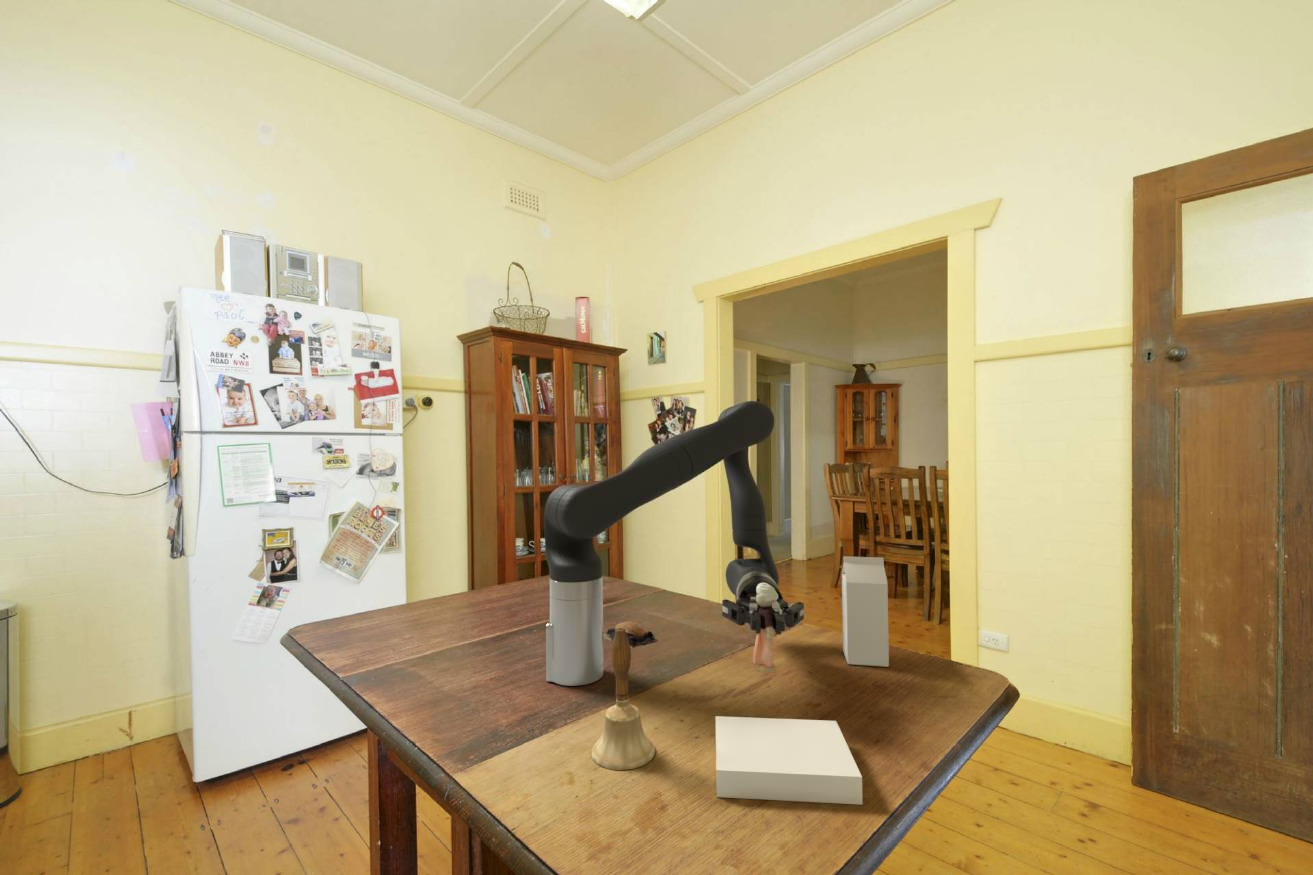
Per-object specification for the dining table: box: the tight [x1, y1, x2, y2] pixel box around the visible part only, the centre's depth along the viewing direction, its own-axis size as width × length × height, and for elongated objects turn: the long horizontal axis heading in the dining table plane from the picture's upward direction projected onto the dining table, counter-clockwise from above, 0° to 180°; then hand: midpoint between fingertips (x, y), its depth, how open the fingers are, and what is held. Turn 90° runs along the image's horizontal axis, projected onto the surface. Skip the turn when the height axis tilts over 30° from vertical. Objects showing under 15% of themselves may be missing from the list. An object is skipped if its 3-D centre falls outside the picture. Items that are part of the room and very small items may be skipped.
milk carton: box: [841, 556, 890, 668], centre depth 105 cm, size 7×7×19 cm
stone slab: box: [715, 715, 864, 805], centre depth 69 cm, size 16×13×3 cm
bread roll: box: [603, 620, 657, 649], centre depth 118 cm, size 11×8×4 cm
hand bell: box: [590, 628, 656, 771], centre depth 73 cm, size 8×8×16 cm
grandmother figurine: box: [752, 583, 778, 673], centre depth 84 cm, size 8×4×13 cm, turn 5°
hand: (768, 627), depth 81 cm, fingers closed on grandmother figurine, 2 cm apart
